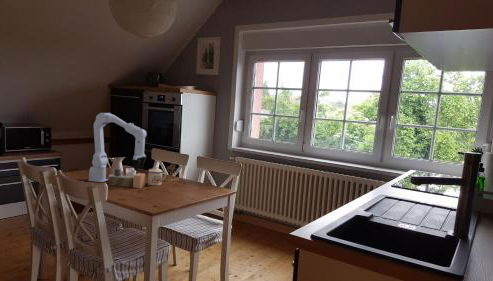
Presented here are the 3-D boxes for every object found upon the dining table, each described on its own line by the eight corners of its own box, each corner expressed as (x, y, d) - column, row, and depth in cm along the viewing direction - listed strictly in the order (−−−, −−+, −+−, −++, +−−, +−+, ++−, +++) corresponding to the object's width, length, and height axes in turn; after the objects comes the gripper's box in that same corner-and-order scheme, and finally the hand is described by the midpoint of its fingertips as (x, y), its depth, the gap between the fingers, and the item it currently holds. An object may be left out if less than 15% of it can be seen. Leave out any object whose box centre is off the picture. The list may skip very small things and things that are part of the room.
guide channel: (108, 184, 216) (109, 177, 216) (112, 182, 222) (113, 175, 221) (132, 186, 215) (132, 179, 215) (135, 184, 221) (136, 178, 220)
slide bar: (108, 180, 217) (108, 168, 217) (110, 179, 220) (111, 168, 220) (130, 182, 216) (130, 171, 216) (132, 181, 219) (132, 170, 219)
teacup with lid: (151, 186, 221) (152, 168, 220) (145, 183, 227) (146, 165, 226) (168, 184, 229) (169, 167, 228) (161, 181, 235) (162, 164, 234)
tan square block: (132, 187, 214) (133, 175, 213) (137, 184, 222) (138, 173, 221) (140, 188, 213) (140, 176, 213) (144, 185, 221) (145, 173, 221)
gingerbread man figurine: (176, 179, 246) (177, 163, 245) (178, 180, 243) (180, 164, 242) (164, 180, 240) (165, 163, 239) (167, 181, 237) (168, 164, 236)
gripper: (141, 150, 212) (140, 172, 214) (149, 147, 227) (148, 168, 228) (130, 149, 213) (129, 170, 214) (139, 146, 227) (138, 167, 229)
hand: (138, 169), depth 221 cm, fingers open, 7 cm apart
